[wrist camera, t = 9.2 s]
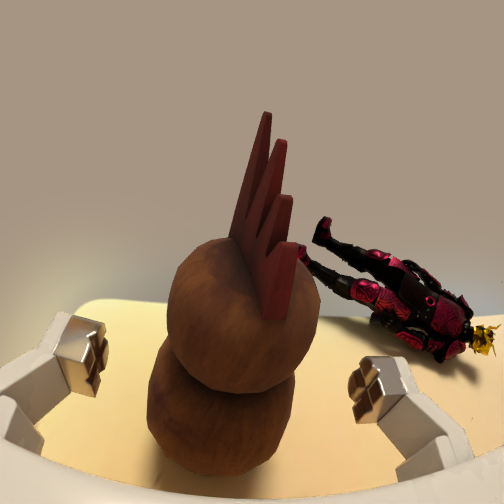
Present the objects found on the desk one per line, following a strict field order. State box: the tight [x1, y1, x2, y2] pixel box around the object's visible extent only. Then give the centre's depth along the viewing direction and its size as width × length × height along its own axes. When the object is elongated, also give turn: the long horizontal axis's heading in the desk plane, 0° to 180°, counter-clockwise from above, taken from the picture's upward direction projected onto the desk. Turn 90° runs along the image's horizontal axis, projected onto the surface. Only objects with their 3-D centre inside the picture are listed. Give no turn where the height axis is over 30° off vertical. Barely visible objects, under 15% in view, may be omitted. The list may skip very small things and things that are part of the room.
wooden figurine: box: [147, 112, 321, 476], centre depth 10 cm, size 7×6×15 cm
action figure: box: [297, 216, 501, 419], centre depth 24 cm, size 15×6×20 cm
